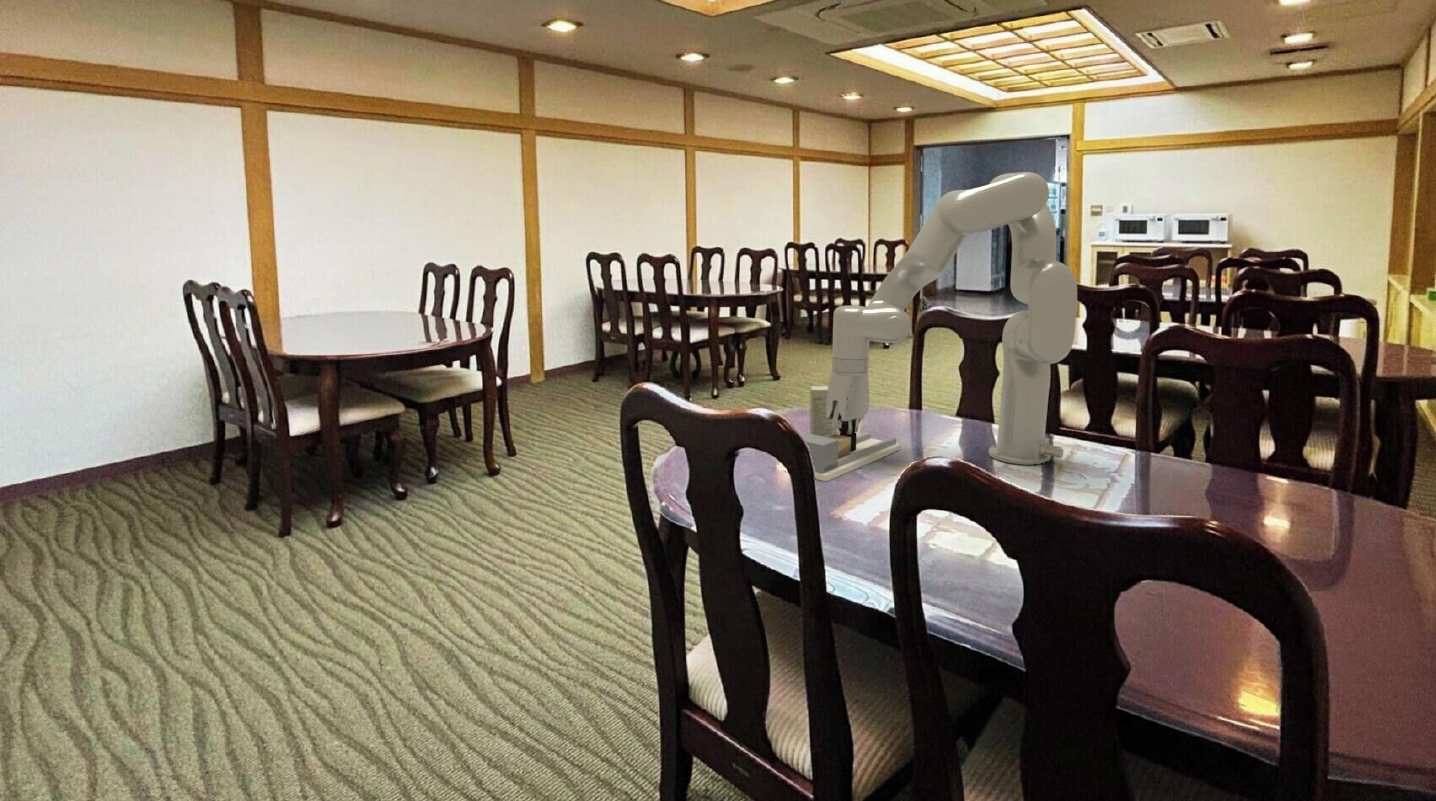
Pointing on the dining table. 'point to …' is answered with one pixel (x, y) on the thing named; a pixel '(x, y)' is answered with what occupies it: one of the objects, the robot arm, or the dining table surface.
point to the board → (832, 467)
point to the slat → (842, 445)
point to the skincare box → (820, 412)
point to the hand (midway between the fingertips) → (847, 450)
